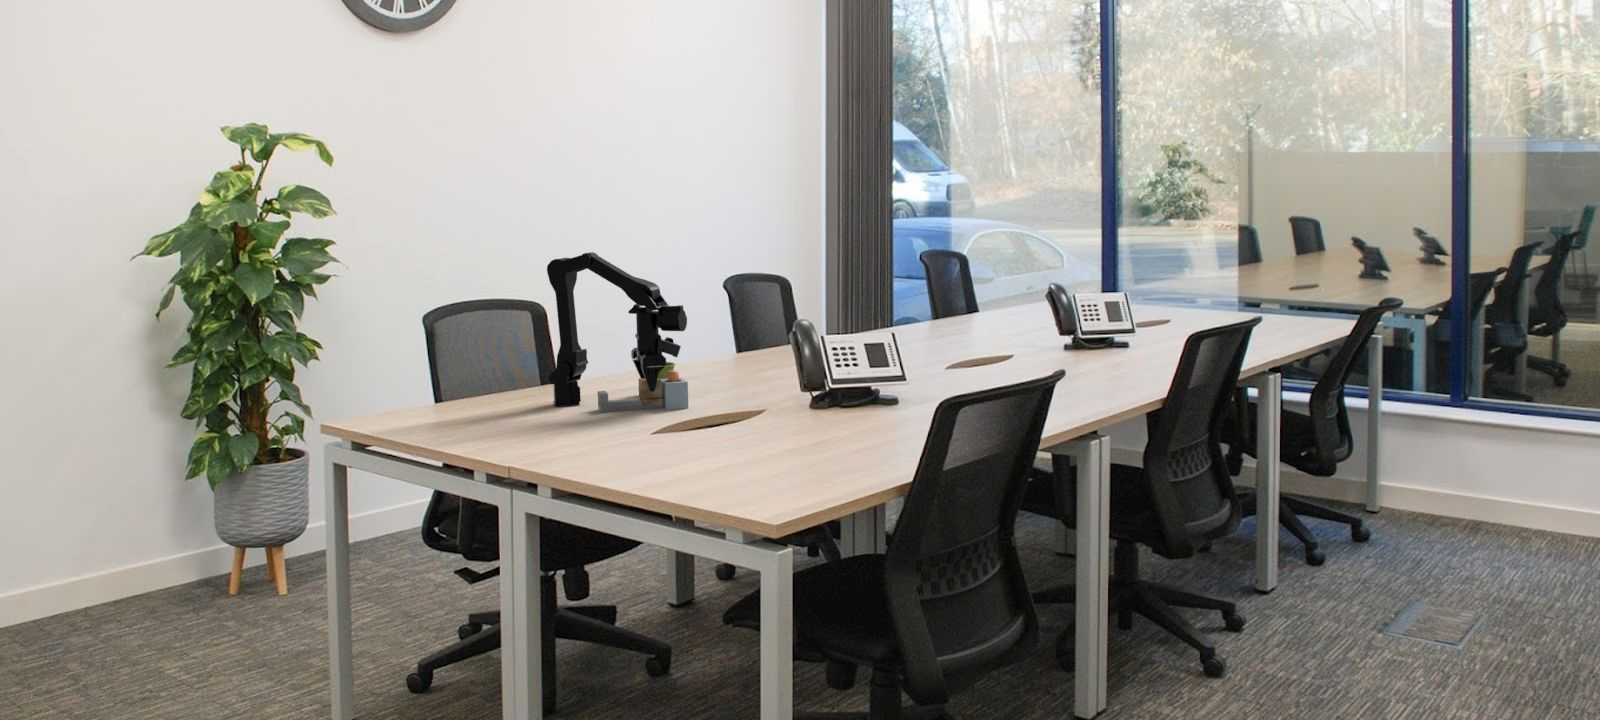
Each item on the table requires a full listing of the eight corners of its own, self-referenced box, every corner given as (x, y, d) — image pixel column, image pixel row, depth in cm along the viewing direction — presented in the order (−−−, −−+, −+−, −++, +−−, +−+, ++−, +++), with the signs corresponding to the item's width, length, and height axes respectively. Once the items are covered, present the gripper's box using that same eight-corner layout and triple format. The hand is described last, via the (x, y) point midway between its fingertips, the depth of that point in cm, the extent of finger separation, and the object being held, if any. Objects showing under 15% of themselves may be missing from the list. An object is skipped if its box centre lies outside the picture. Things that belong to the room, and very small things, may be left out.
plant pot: (674, 397, 383) (673, 366, 381) (640, 397, 383) (639, 366, 382) (678, 391, 392) (677, 361, 391) (645, 392, 392) (644, 362, 391)
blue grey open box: (666, 409, 363) (665, 383, 362) (660, 404, 370) (659, 379, 369) (688, 408, 364) (687, 382, 363) (682, 403, 372) (681, 377, 371)
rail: (601, 412, 359) (600, 394, 359) (598, 409, 364) (597, 391, 363) (668, 408, 364) (668, 389, 364) (665, 405, 369) (664, 387, 368)
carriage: (642, 405, 362) (641, 381, 361) (639, 402, 367) (638, 378, 366) (661, 404, 364) (660, 380, 363) (657, 401, 368) (656, 377, 368)
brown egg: (669, 385, 365) (668, 372, 364) (667, 384, 368) (666, 370, 367) (680, 385, 366) (679, 371, 365) (678, 383, 368) (677, 370, 368)
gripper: (684, 333, 356) (686, 392, 358) (670, 325, 374) (672, 382, 376) (642, 335, 353) (644, 395, 355) (630, 327, 371) (631, 384, 373)
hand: (649, 388), depth 365 cm, fingers open, 9 cm apart
